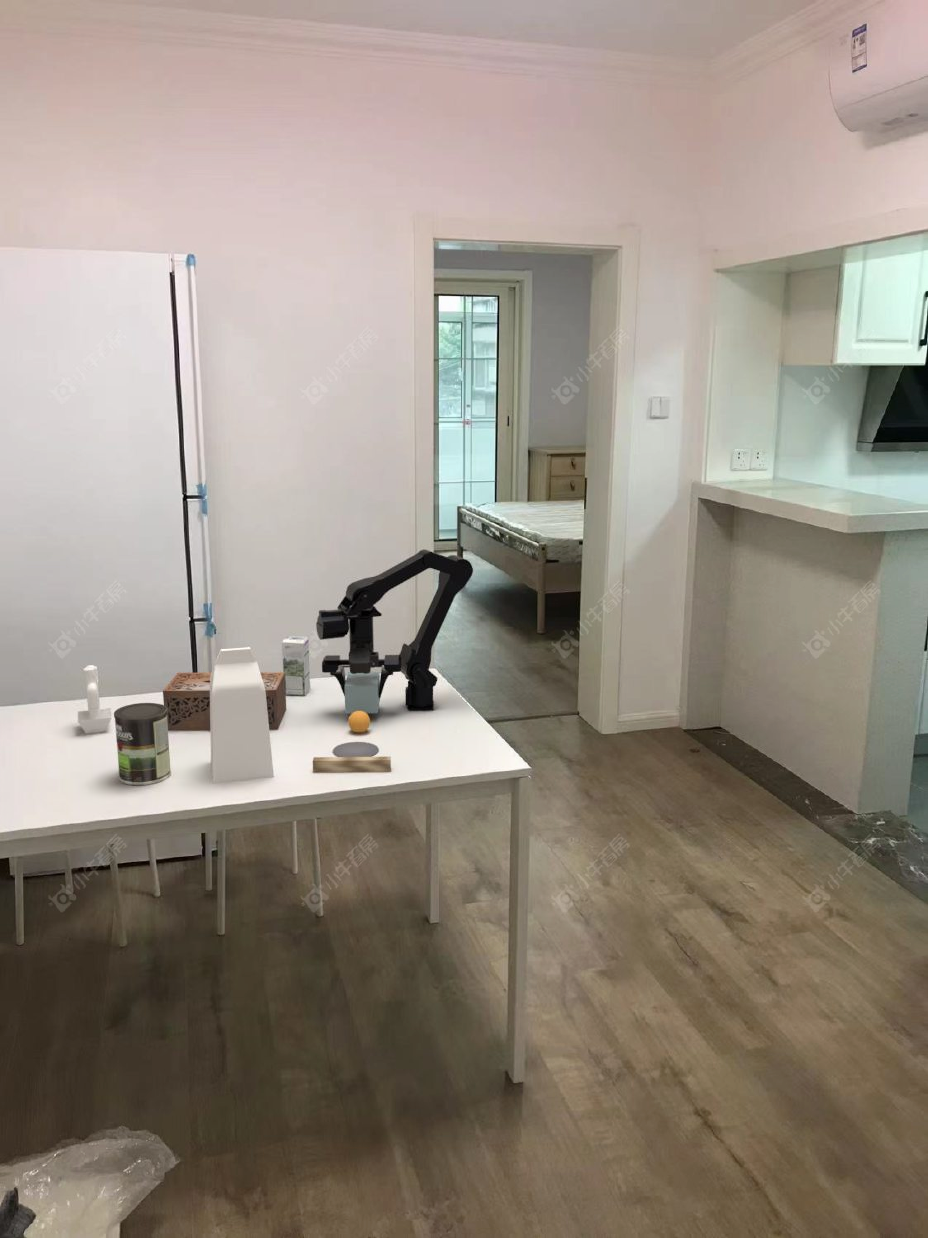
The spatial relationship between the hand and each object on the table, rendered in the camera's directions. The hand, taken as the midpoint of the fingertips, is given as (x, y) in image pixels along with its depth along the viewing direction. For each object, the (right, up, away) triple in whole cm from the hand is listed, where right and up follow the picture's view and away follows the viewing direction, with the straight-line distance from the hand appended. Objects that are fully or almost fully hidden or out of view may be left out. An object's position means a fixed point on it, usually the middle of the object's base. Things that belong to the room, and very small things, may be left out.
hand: (362, 697), depth 241 cm
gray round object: (+1, -10, -23) cm, 25 cm away
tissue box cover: (-32, -6, -3) cm, 33 cm away
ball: (0, -5, -12) cm, 13 cm away
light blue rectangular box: (0, -2, +1) cm, 2 cm away
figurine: (-61, -7, -10) cm, 62 cm away
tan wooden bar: (+1, -12, -34) cm, 36 cm away
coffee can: (-41, -13, -37) cm, 57 cm away
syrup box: (-19, 0, +17) cm, 26 cm away
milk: (-22, -13, -33) cm, 42 cm away
